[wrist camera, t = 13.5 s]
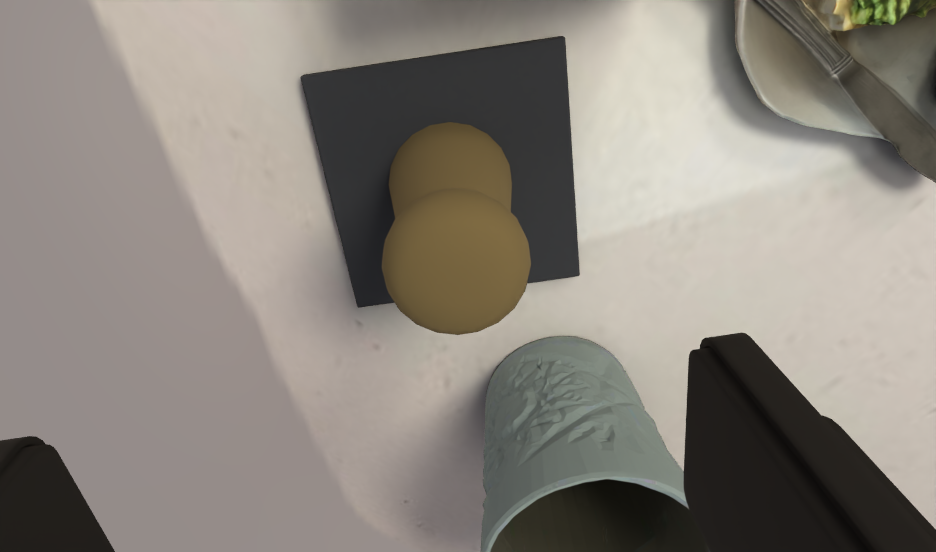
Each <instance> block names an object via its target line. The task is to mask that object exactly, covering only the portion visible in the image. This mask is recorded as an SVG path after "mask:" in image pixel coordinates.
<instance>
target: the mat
mask: <svg viewBox="0 0 936 552" xmlns="http://www.w3.org/2000/svg"><path fill="white" fill-rule="evenodd" d="M301 81H302V85H303V89H304V93H305V97H306V101H307V105H308V109H309V113H310V118H311V122H312V126H313V130H314V134H315V138H316V142H317V146H318V150H319V154H320V158H321V162H322V166H323V170H324V174H325V178H326V182H327V186H328V190H329V194H330V198H331V202H332V206H333V210H334V214H335V218H336V222H337V226H338V230H339V234H340V238H341V242H342V246H343V250H344V254H345V259H346V263H347V267H348V271H349V275H350V279H351V283H352V287H353V291H354V295H355V299H356V303H357V307H358V308H359V307H366V306H373V305H380V304H387V303H394V301H393V299H392V297H391V296H390V294H389V292H388V290H387V287H386V283H385V279H384V275H383V271H382V259H383V249H384V243H385V239H386V237H387V235H388V233H389V231H390V229H391V227H392V225H393V222H394V220H395V215H394V210H393V205H392V200H391V195H390V190H389V177H390V167H391V164H392V162H393V160H394V158H395V156H396V154H397V152H398V149H399V148H400V147H401V146H402V145H403V144H404V143H405V142H406V141H407V140H408V139H409V138H410V137H411V136H412V135H413V134H415V133H416V132H418V131H420V130H422V129H424V128H426V127H428V126H430V125H435V124H441V123H447V122H453V123H460V124H466V125H471V126H473V127H475V128H477V129H479V130H481V131H483V132H485V133H487V134H488V135H489V136H490V137H491V138H492V139H493V140H494V141H495V142H496V143H497V144H498V145H499V146H500V147H501V148H502V151H503V153H504V155H505V157H506V159H507V161H508V163H509V165H510V172H511V180H512V193H511V213H512V214H513V215H514V216H515V217H516V218H517V220H518V222H519V224H520V226H521V228H522V230H523V232H524V234H525V236H526V238H527V241H528V243H529V251H530V259H531V267H530V271H529V276H528V280H527V283H533V282H540V281H547V280H554V279H561V278H568V277H575V276H579V275H580V273H579V257H578V240H577V224H576V208H575V191H574V175H573V159H572V143H571V126H570V110H569V94H568V77H567V61H566V45H565V37H563V36H559V37H552V38H545V39H539V40H532V41H525V42H519V43H512V44H505V45H499V46H492V47H485V48H479V49H472V50H465V51H459V52H452V53H446V54H439V55H432V56H426V57H419V58H412V59H406V60H399V61H392V62H386V63H379V64H372V65H366V66H359V67H352V68H346V69H339V70H332V71H326V72H319V73H312V74H306V75H303V76H301Z"/></svg>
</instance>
